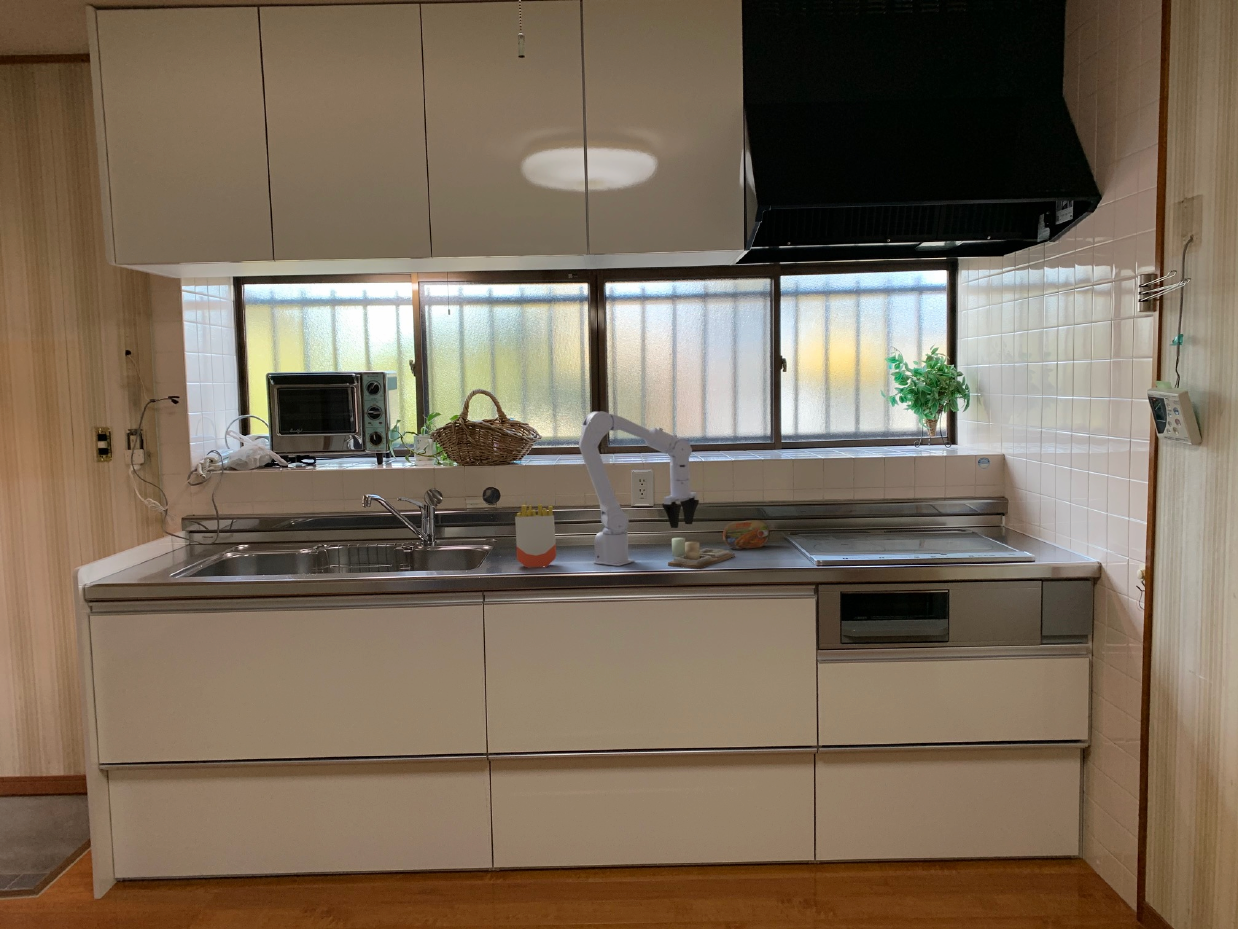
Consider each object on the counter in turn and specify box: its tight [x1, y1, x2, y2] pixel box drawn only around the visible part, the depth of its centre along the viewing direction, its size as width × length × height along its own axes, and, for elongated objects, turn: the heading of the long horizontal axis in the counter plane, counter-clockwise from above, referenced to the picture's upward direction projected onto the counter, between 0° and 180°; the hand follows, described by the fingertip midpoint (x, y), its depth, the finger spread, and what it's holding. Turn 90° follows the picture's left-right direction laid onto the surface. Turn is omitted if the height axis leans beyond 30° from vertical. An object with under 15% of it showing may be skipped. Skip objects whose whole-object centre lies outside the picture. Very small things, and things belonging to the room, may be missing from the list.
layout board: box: [667, 548, 735, 570], centre depth 239 cm, size 10×20×2 cm, turn 143°
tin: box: [722, 519, 771, 550], centre depth 258 cm, size 15×3×8 cm, turn 105°
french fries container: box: [514, 504, 557, 568], centre depth 240 cm, size 5×11×18 cm, turn 90°
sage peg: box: [671, 537, 686, 558], centre depth 249 cm, size 4×4×5 cm
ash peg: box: [685, 541, 701, 560], centre depth 234 cm, size 4×4×5 cm
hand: (681, 525), depth 245 cm, fingers open, 7 cm apart
